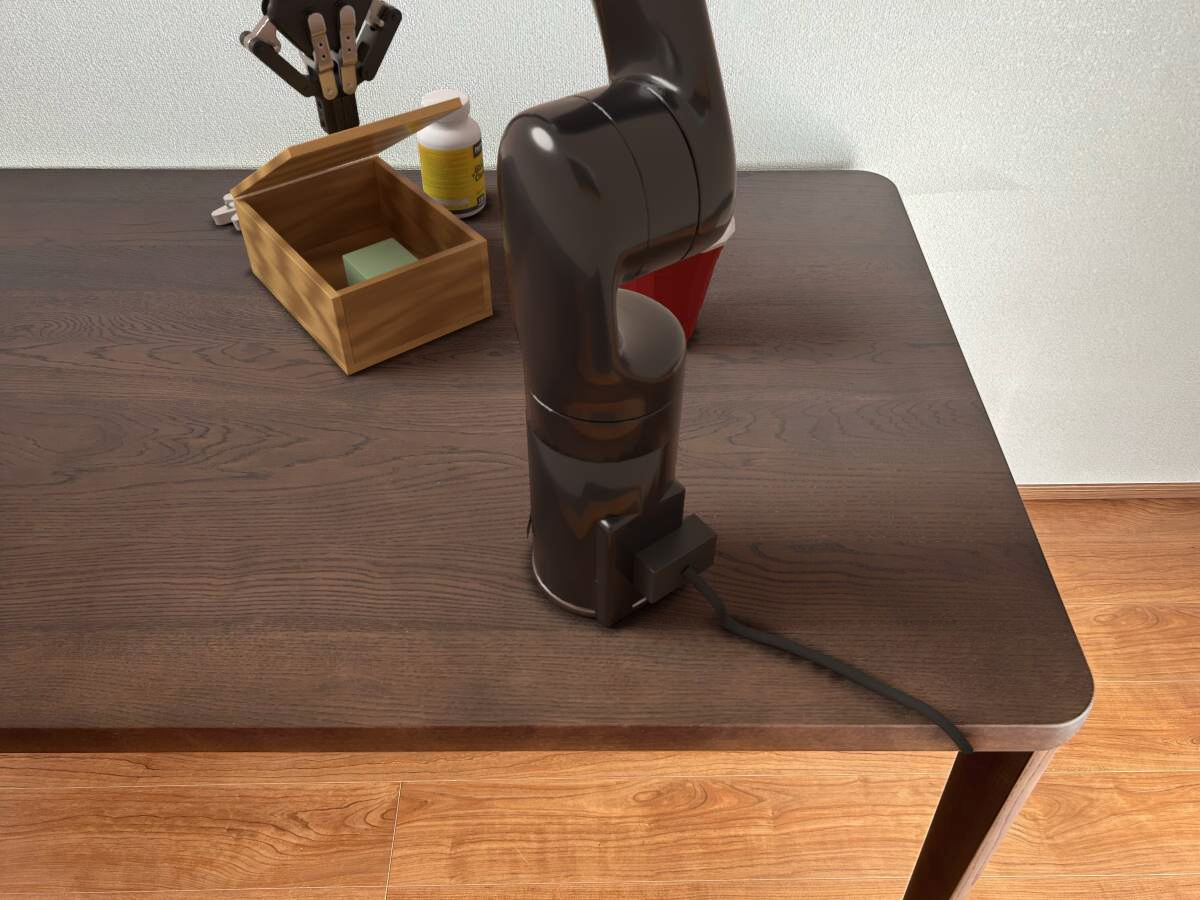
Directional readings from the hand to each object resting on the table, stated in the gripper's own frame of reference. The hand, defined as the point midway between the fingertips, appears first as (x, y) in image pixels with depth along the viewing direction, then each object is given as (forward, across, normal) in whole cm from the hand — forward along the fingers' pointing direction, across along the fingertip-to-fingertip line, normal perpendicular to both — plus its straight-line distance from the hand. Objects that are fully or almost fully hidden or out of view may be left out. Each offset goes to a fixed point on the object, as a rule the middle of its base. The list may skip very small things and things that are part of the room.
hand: (342, 136), depth 80 cm
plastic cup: (+16, +18, -21) cm, 32 cm away
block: (+15, 0, -4) cm, 15 cm away
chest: (+16, 0, 0) cm, 16 cm away
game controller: (+16, -1, +19) cm, 25 cm away
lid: (+2, 0, +1) cm, 3 cm away
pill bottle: (+16, +15, +9) cm, 24 cm away
